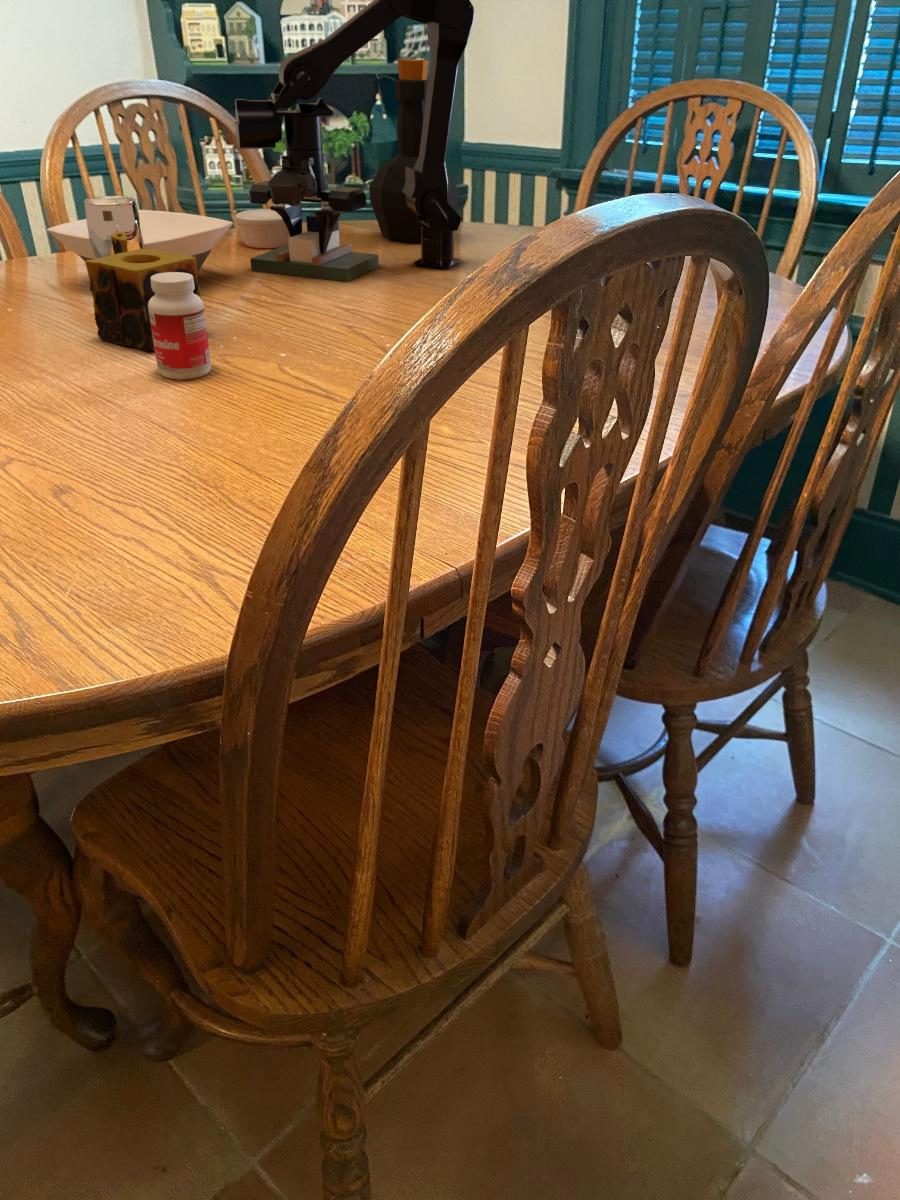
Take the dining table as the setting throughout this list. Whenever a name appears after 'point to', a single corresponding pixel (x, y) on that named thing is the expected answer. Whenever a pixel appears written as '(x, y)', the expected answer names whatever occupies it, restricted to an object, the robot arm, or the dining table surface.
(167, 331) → the pill bottle
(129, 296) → the candle
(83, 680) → the dining table surface
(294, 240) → the cream and navy block
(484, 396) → the dining table surface
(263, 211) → the ramekin
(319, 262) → the green board with rails
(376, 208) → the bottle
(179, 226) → the bowl
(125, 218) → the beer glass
